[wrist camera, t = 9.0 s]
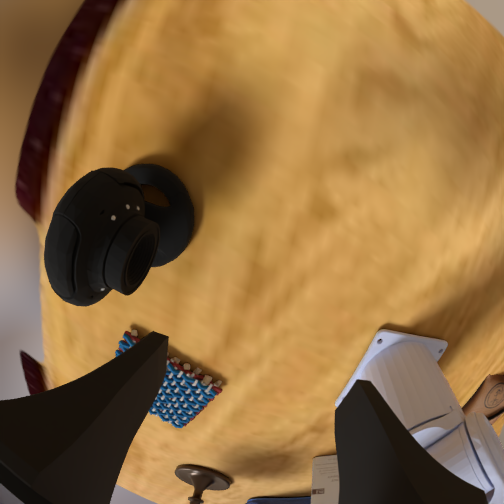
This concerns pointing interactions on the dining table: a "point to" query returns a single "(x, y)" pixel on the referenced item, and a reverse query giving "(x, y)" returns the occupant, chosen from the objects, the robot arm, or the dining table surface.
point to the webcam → (115, 232)
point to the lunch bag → (280, 500)
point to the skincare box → (325, 480)
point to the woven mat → (178, 389)
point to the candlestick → (201, 480)
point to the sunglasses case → (488, 398)
